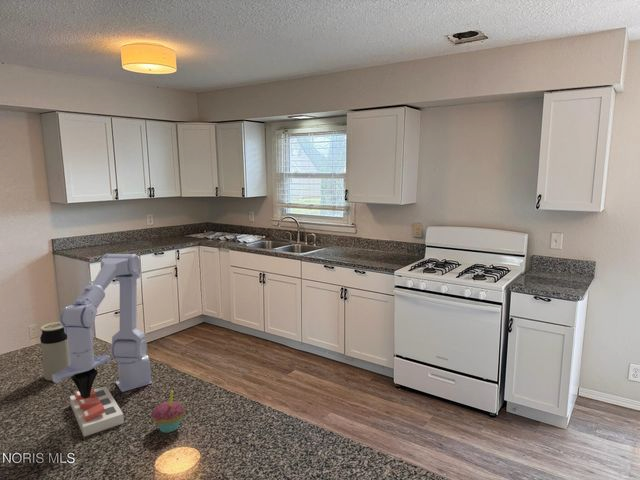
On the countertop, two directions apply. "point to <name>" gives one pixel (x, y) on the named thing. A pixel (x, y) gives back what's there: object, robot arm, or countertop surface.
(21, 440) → the countertop surface
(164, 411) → the cupcake
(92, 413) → the rocker
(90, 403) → the rocker middle
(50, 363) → the travel mug
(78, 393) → the rocker
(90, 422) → the power strip
